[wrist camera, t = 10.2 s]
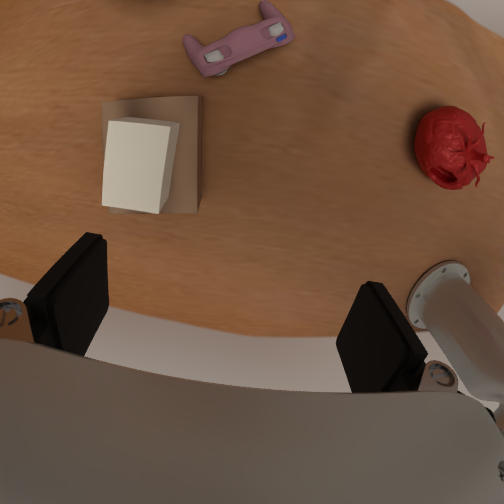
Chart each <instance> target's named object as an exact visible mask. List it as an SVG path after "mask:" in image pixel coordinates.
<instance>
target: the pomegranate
mask: <svg viewBox="0 0 504 504" xmlns="http://www.w3.org/2000/svg"><path fill="white" fill-rule="evenodd" d="M484 124H485V123H483V126H482V130H481V129H480V127H479V126H478V125H477V123H476V121H475V119H474V118H473V117H472V116H471V115H470V114H469V113H467V112H465V111H463V110H461V109H459V108H457V107H455V106H444V107H440V108H437V109H435V110H433V111H430V112H429V113H427V114H425V115H424V117H423V118H422V119H421V121H420V123H419V125H418V128H417V131H416V136H415V142H414V146H415V154H416V158H417V161H418V163H419V166H420V168H421V170H422V171H423V172H424V174H425V175H426V176H428V177H429V178H431V179H432V180H433V182H435V183H436V184H437V185H439V186H440V187H442V188H445V189H450V190H457V189H462V188H463V186H466V185H468V184H470V182H471V181H472V180H473V179H474V178H475V177H476V176H477V181H476V183H475V186H476V187H477V184H478V182H479V181H480V177H479V174H480V173H481V172H483V170H484V169H485V168H486V166H487V163H489V162H490V159H494V157H492V156H489V155H487V150H486V144H485V139H484V136H483V134H484Z"/></svg>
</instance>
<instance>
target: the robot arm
mask: <svg viewBox="0 0 504 504" xmlns="http://www.w3.org/2000/svg"><path fill="white" fill-rule="evenodd" d="M27 296H28V297H27V298H26V299H25V300H24V302H22V301H20V300H18V299H14V298H6V299H2V300H0V504H504V322H503V320H502V319H501V318H500V317H499V316H498V315H497V314H496V313H495V311H494V310H493V309H492V308H491V307H490V306H489V305H488V304H487V303H486V302H485V301H484V300H483V298H482V297H481V296H480V295H479V294H478V293H477V292H476V291H475V290H474V289H473V288H472V287H471V286H470V275H469V272H468V270H467V268H466V267H465V266H463V265H462V264H461V263H459V262H457V261H446V262H442V263H440V264H438V265H436V266H435V267H433V268H431V269H430V270H429V271H428V272H426V273H425V274H424V275H423V276H422V277H421V278H420V280H419V281H418V282H417V284H416V285H415V286H414V288H413V290H412V292H411V294H410V296H409V299H408V302H407V316H408V318H409V320H410V321H411V323H412V324H413V325H414V326H416V327H417V328H421V329H428V330H429V332H430V333H431V334H432V336H433V337H434V339H435V340H436V342H437V343H438V345H439V346H440V348H441V349H442V351H443V352H444V354H445V355H446V357H447V359H448V360H449V362H450V363H451V365H452V366H453V368H454V369H455V371H456V373H457V374H458V376H459V377H460V379H461V380H462V382H463V384H464V385H465V387H466V388H467V390H468V391H469V393H470V394H471V395H472V396H474V397H475V398H478V399H480V400H485V401H496V402H499V403H500V405H499V407H498V408H497V410H496V411H495V412H494V413H493V412H492V411H491V410H490V409H488V408H486V407H484V406H483V405H482V404H481V403H480V402H479V401H477V400H475V399H473V398H471V397H469V396H466V395H465V394H463V393H461V392H460V391H458V390H457V389H458V378H457V376H456V374H455V372H454V371H453V370H452V369H451V368H450V367H449V366H448V365H446V364H445V363H442V362H440V361H436V360H433V361H429V362H428V363H427V364H426V363H425V362H424V360H425V358H426V357H427V355H428V353H427V351H426V349H425V348H424V346H423V344H422V343H421V341H420V340H419V338H418V336H417V335H416V333H415V332H414V330H413V328H412V327H411V325H410V324H409V322H408V321H407V319H406V318H405V316H404V315H403V313H402V311H401V310H400V308H399V307H398V305H397V304H396V302H395V301H394V299H393V298H392V297H391V295H390V294H389V292H388V291H387V289H386V288H385V286H384V285H383V284H382V283H378V282H372V281H367V282H366V283H365V284H362V285H361V287H360V289H359V291H358V294H357V296H356V298H355V300H354V303H353V305H352V307H351V309H350V311H349V314H348V316H347V318H346V320H345V322H344V324H343V326H342V328H341V330H340V332H339V335H338V337H337V340H336V347H337V350H338V352H339V355H340V358H341V361H342V364H343V367H344V370H345V373H346V376H347V379H348V382H349V385H350V388H351V391H352V393H333V392H304V391H286V390H272V389H261V388H250V387H240V386H232V385H224V384H216V383H209V382H202V381H196V380H190V379H183V378H177V377H171V376H166V375H161V374H155V373H151V372H146V371H141V370H137V369H132V368H128V367H123V366H119V365H115V364H111V363H107V362H103V361H99V360H95V359H92V358H88V357H84V355H85V353H86V351H87V349H88V347H89V345H90V343H91V341H92V339H93V337H94V335H95V333H96V331H97V330H98V328H99V326H100V324H101V322H102V320H103V318H104V316H105V314H106V313H107V310H108V307H109V294H108V273H107V241H106V240H105V239H103V237H102V235H100V234H95V233H89V232H86V233H85V234H84V235H83V236H82V237H81V238H80V239H79V240H78V241H77V242H76V243H75V244H74V245H73V246H72V247H71V248H70V249H69V250H68V251H67V252H66V253H65V254H64V255H63V256H62V257H61V258H60V259H59V260H58V261H57V262H56V263H55V264H54V265H53V266H52V267H51V268H50V270H49V271H48V272H47V273H46V274H45V275H44V276H43V277H42V278H41V279H40V280H39V282H38V283H37V284H36V285H35V286H34V287H33V288H32V289H31V291H30V292H29V293H28V294H27Z"/></svg>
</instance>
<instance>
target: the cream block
mask: <svg viewBox="0 0 504 504" xmlns="http://www.w3.org/2000/svg"><path fill="white" fill-rule="evenodd" d="M179 126H180V123H178V122H170V121H162V120H154V119H144V118H134V117H124V118H119V119H114V120H109V123H108V131H107V140H106V149H105V160H104V173H103V190H102V205H103V206H110V207H117V208H123V209H130V210H136V211H143V212H149V213H156V214H159V212H160V211H161V209H162V207H163V205H164V204H165V202H166V200H167V199H168V197H169V190H170V183H171V176H172V169H173V162H174V156H175V150H176V144H177V138H178V132H179Z"/></svg>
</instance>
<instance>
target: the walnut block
mask: <svg viewBox="0 0 504 504" xmlns="http://www.w3.org/2000/svg"><path fill="white" fill-rule="evenodd" d="M202 109H203V97H202V96H171V97H153V98H140V99H129V100H120V101H111V102H103V103H102V136H103V156H104V160H105V149H106V140H107V131H108V123H109V120H114V119H119V118H124V117H134V118H144V119H154V120H162V121H170V122H178V123H180V126H179V132H178V138H177V144H176V150H175V156H174V162H173V169H172V176H171V183H170V190H169V197H168V199H167V200H166V202H165V204H164V205H163V207H162V209H161V211H160V212H159V213H198V209H199V205H200V201H201V154H202ZM108 210H109V214H146V213H149V212H143V211H136V210H130V209H123V208H117V207H110V206H108Z"/></svg>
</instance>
